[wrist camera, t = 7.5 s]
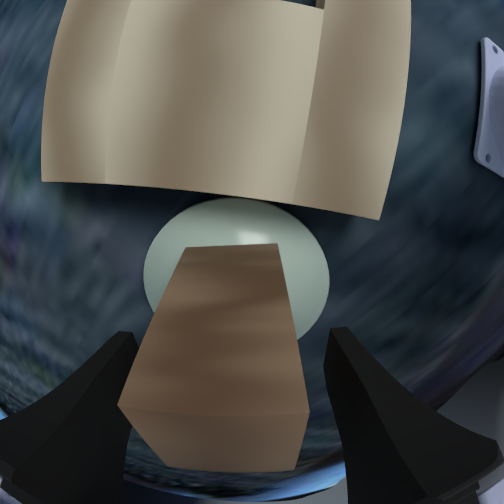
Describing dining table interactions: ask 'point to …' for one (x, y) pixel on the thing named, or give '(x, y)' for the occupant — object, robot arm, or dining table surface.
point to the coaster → (242, 233)
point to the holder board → (230, 98)
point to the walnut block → (221, 366)
